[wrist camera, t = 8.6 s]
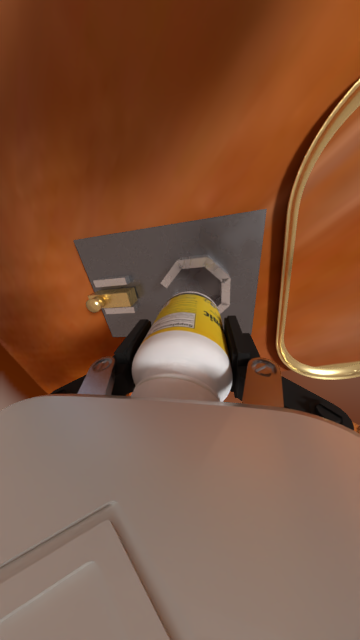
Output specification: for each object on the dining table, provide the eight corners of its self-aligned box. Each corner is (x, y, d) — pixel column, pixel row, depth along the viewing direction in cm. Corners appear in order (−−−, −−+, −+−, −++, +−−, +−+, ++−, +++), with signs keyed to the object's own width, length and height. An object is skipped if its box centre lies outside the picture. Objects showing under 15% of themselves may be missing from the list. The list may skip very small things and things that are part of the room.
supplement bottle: (224, 337, 14) (251, 479, 6) (171, 343, 16) (133, 467, 7) (215, 282, 12) (241, 390, 4) (154, 296, 13) (69, 397, 5)
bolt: (98, 290, 23) (79, 300, 20) (134, 287, 22) (120, 296, 19) (102, 302, 24) (85, 313, 21) (137, 300, 23) (125, 311, 19)
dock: (78, 240, 21) (57, 240, 18) (263, 210, 17) (276, 204, 14) (115, 333, 29) (105, 345, 26) (249, 331, 24) (255, 344, 21)
